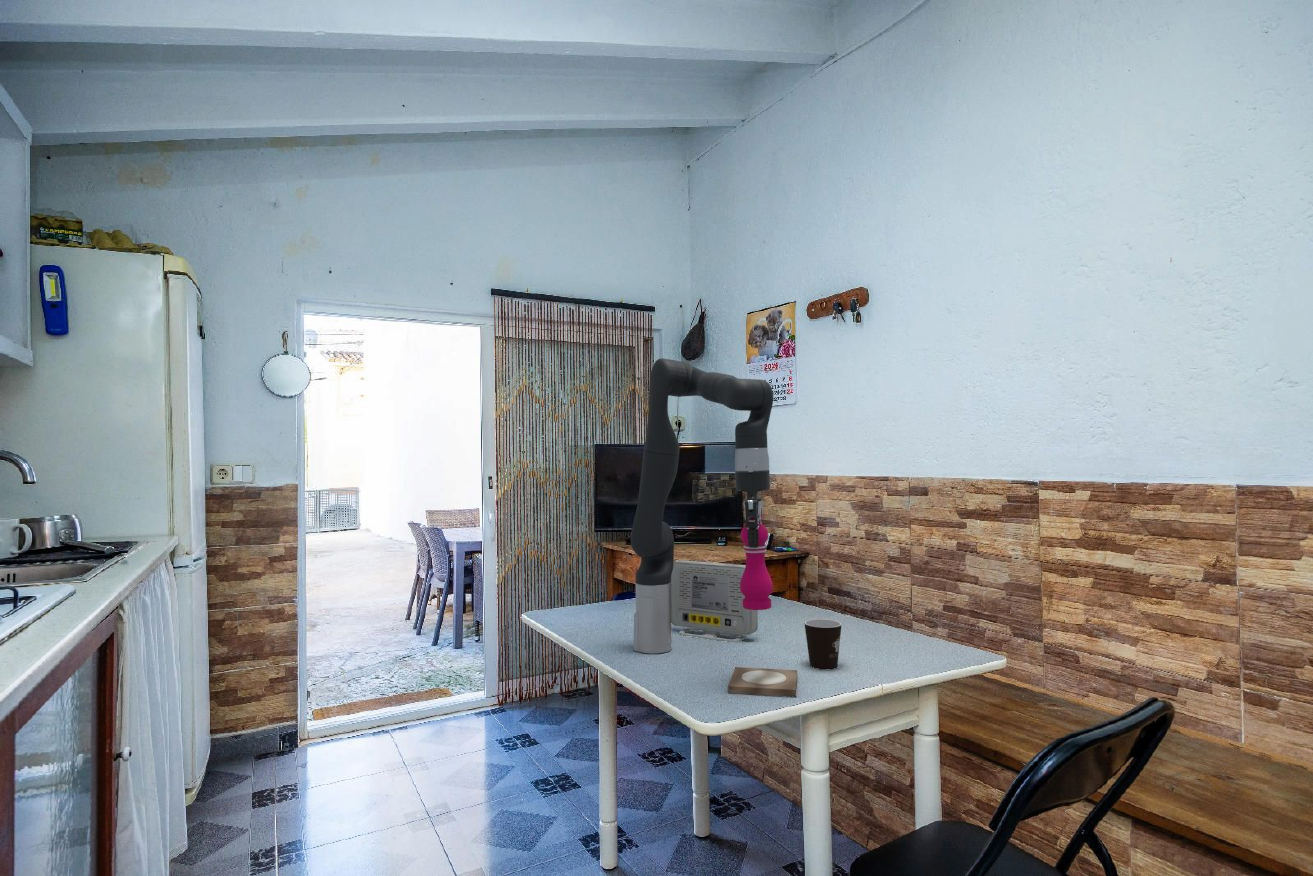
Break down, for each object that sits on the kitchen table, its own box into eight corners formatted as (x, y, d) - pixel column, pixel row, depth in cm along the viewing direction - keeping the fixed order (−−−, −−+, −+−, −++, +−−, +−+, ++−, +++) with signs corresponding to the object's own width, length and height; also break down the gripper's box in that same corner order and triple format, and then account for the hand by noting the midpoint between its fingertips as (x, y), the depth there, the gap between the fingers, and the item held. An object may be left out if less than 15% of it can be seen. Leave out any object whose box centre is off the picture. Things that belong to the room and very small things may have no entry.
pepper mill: (765, 611, 152) (762, 517, 153) (734, 609, 156) (731, 516, 157) (778, 605, 158) (775, 514, 159) (748, 603, 162) (745, 514, 163)
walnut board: (728, 693, 151) (728, 685, 151) (735, 673, 164) (735, 666, 164) (795, 697, 148) (795, 689, 148) (797, 677, 161) (797, 669, 161)
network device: (761, 638, 197) (760, 565, 197) (747, 645, 189) (746, 569, 190) (681, 627, 210) (680, 558, 211) (665, 633, 203) (664, 562, 204)
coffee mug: (821, 673, 164) (820, 629, 164) (797, 663, 172) (796, 621, 172) (859, 665, 169) (859, 623, 170) (835, 657, 177) (834, 616, 177)
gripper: (738, 469, 166) (741, 542, 165) (731, 470, 152) (734, 549, 151) (771, 468, 164) (774, 542, 164) (767, 469, 150) (770, 549, 150)
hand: (754, 545), depth 157 cm, fingers closed on pepper mill, 6 cm apart
